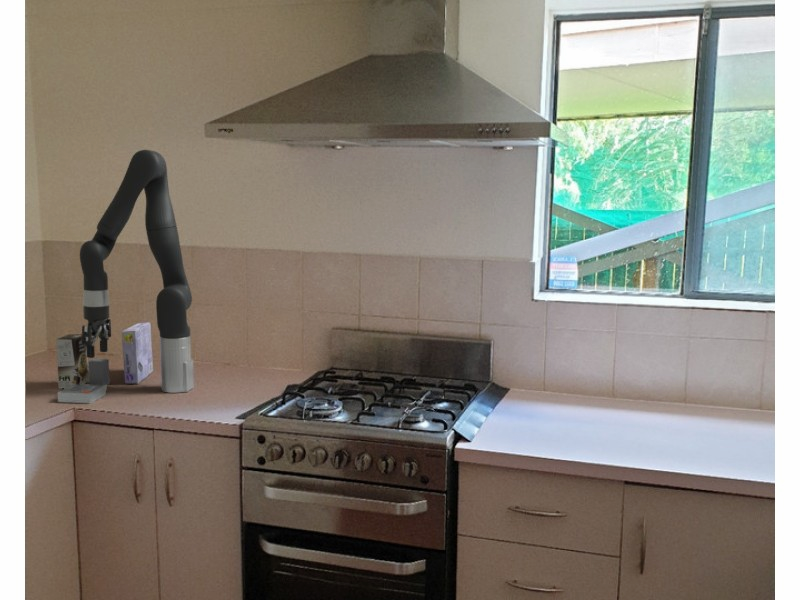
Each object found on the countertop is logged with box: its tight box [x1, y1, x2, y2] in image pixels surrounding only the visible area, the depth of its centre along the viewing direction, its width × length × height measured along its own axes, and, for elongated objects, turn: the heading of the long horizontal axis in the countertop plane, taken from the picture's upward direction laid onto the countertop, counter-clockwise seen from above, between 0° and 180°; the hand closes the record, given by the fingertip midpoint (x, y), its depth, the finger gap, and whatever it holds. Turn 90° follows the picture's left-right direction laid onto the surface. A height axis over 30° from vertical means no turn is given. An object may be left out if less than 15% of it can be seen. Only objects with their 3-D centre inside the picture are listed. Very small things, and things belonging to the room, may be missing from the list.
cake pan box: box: [121, 321, 154, 385], centre depth 258 cm, size 19×5×18 cm, turn 2°
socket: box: [57, 383, 107, 404], centre depth 233 cm, size 10×10×4 cm
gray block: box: [88, 357, 110, 390], centre depth 243 cm, size 4×4×10 cm
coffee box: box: [56, 333, 89, 389], centre depth 246 cm, size 9×6×16 cm
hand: (97, 354), depth 242 cm, fingers open, 8 cm apart
